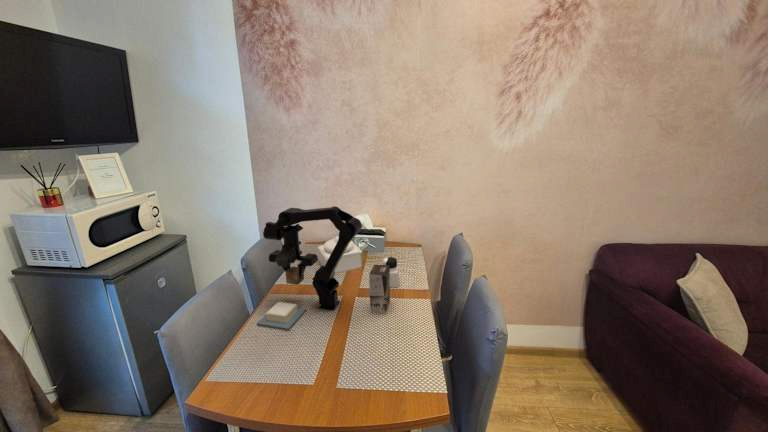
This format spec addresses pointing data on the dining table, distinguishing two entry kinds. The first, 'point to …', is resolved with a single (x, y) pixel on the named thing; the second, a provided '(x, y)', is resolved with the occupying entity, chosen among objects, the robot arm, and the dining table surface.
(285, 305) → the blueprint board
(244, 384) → the dining table surface
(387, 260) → the medicine bottle
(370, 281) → the coffee box
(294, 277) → the walnut block
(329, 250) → the white square box
